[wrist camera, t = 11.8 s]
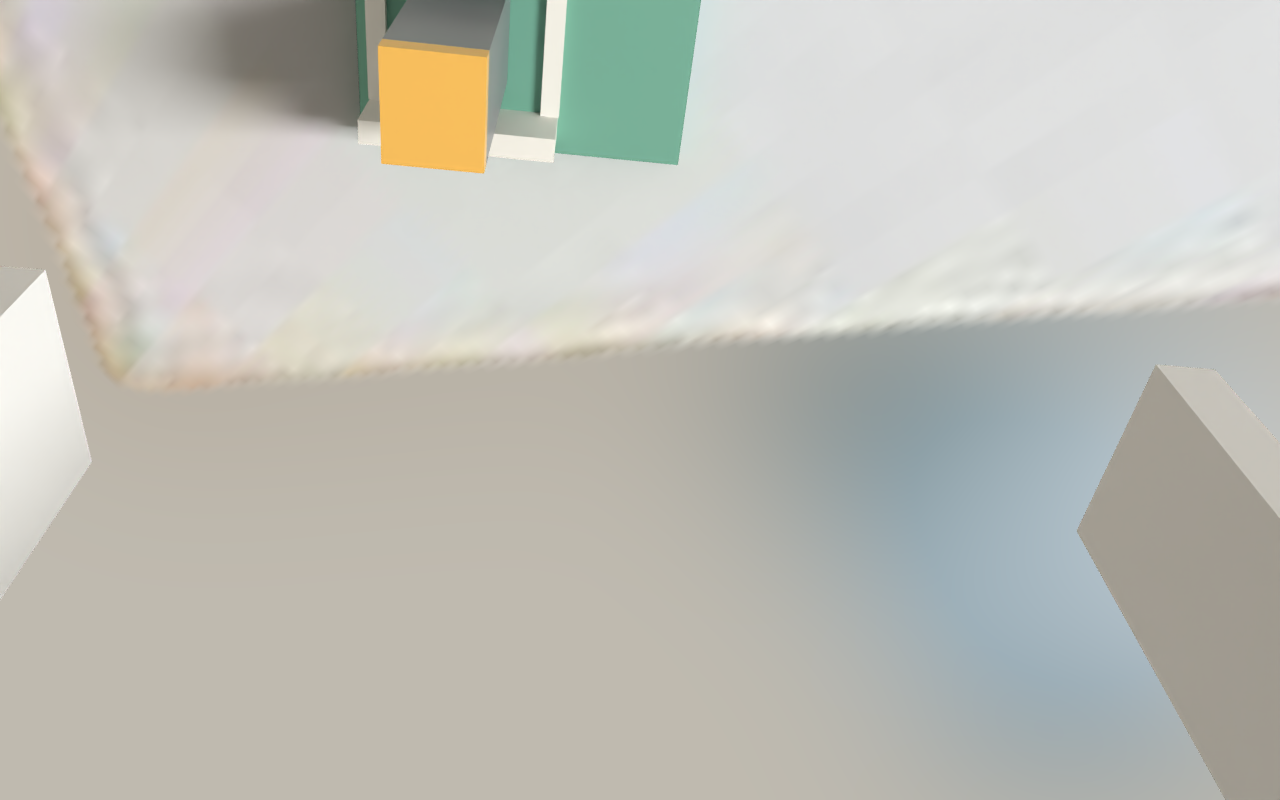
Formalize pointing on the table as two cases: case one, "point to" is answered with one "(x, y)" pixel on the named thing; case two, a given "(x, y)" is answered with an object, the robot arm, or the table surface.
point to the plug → (443, 83)
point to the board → (572, 77)
